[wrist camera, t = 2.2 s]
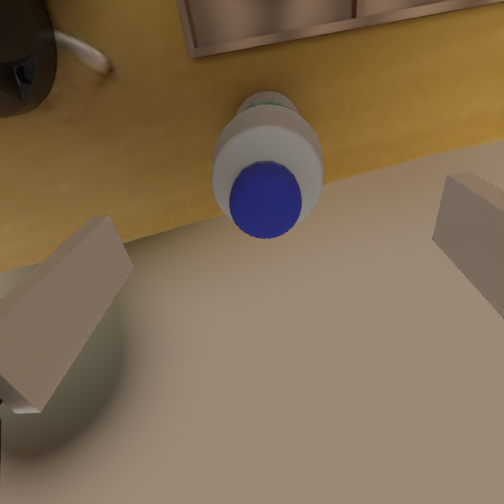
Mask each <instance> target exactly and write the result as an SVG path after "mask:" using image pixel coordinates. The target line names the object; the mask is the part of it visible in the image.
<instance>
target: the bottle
mask: <svg viewBox="0 0 504 504" xmlns="http://www.w3.org/2000/svg"><path fill="white" fill-rule="evenodd" d="M211 180H212V190H213V193H214V197H215V199H216V201H217V203H218V205H219V207H220V208H221V210H222V211H223V212H224V214H225V215H226V216H227V217H228V218H229V219H231V220H232V221H233V222H234V223H235V224H236V225H237V226H239V228H240V229H241V230H242V231H244V232H245V233H246V234H249V235H250V236H254V237H256V238H262V239H265V238H269V239H270V238H274V237H278V236H280V235H283V234H284V233H285V232H288V230H289V229H291V228H292V227H293V226H295V225H296V224H298V223H300V222H301V221H302V220H303V219H305V218H306V217H307V216H308V215H309V214H310V212H311V211H312V210H313V209H314V207H315V206H316V204H317V202H318V200H319V198H320V195H321V192H322V187H323V180H324V178H323V155H322V149H321V145H320V142H319V139H318V137H317V135H316V133H315V132H314V130H313V129H312V127H311V126H310V125H309V124H308V123H307V122H306V121H305V120H304V119H303V118H302V117H301V116H300V115H299V112H298V110H297V108H296V107H295V105H294V104H293V102H292V101H291V100H290V99H289V98H287V97H286V96H285V95H283V94H281V93H279V92H274V91H261V92H257V93H254V94H253V95H251V96H250V97H248V98H247V99H246V100H245V101H244V102H243V103H242V104H241V106H240V107H239V109H238V111H237V112H236V115H235V117H234V118H233V119H232V120H231V121H230V122H229V123H228V124H227V125H226V126H225V128H224V129H223V130H222V132H221V133H220V135H219V137H218V139H217V141H216V144H215V147H214V151H213V158H212V178H211Z"/></svg>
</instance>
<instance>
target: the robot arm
mask: <svg viewBox="0 0 504 504" xmlns="http://www.w3.org/2000/svg"><path fill="white" fill-rule="evenodd" d="M55 68H56V49H55V41H54V35H53V31H52V27H51V23H50V20H49V17H48V14H47V11H46V9H45V6H44V3H43V1H42V0H0V118H5V117H10V116H14V115H18V114H22V113H25V112H28V111H30V110H32V109H33V108H35V107H36V106H38V105H39V104H40V103H41V102H42V101H43V100H44V98H45V97H46V96H47V94H48V92H49V90H50V88H51V86H52V83H53V79H54V75H55ZM432 240H433V241H434V242H435V243H436V244H437V245H438V247H439V248H440V249H441V250H442V251H443V252H444V253H445V254H446V255H447V256H448V258H449V259H450V260H451V261H452V262H453V263H454V264H455V265H456V266H457V267H458V269H459V270H460V271H461V272H462V273H463V274H464V275H465V276H466V277H467V279H468V280H469V281H470V282H471V283H472V284H473V285H474V286H475V287H476V288H477V290H478V291H479V292H480V293H481V294H482V295H483V296H484V297H485V298H486V299H487V300H488V302H489V303H490V304H491V305H492V306H493V307H494V308H495V310H496V311H498V313H499V314H500V315H501V316H502V317H503V318H504V191H503V190H502V189H500V188H498V187H496V186H494V185H493V184H491V183H489V182H487V181H486V180H484V179H482V178H480V177H478V176H477V175H475V174H473V173H471V172H465V173H457V174H448V175H447V177H446V182H445V186H444V190H443V195H442V199H441V203H440V208H439V212H438V216H437V221H436V225H435V229H434V234H433V238H432ZM132 270H133V265H132V263H131V261H130V259H129V257H128V255H127V252H126V250H125V248H124V246H123V244H122V242H121V240H120V237H119V235H118V233H117V231H116V229H115V227H114V225H113V222H112V220H111V218H110V216H109V215H106V216H97V217H92V218H91V219H89V220H88V221H87V222H86V223H85V224H84V225H83V226H82V227H81V228H79V229H78V230H77V231H76V232H75V233H74V234H73V235H72V236H71V237H69V238H68V239H67V240H66V241H65V242H64V243H63V244H62V245H61V246H59V247H58V248H57V249H56V250H55V251H54V252H53V253H52V254H51V255H49V256H48V257H47V258H46V259H45V260H44V261H43V262H42V263H41V264H39V265H38V266H37V267H36V268H35V269H34V270H33V271H32V272H31V273H29V274H28V275H27V276H26V277H25V278H24V279H23V280H22V281H21V282H19V283H18V284H17V285H16V286H15V287H14V288H13V289H12V290H11V291H9V292H8V294H6V295H5V296H4V297H3V298H2V299H0V404H1V403H2V402H3V403H5V404H6V405H7V406H8V407H9V408H10V409H11V410H13V411H14V412H15V413H40V412H41V411H42V409H43V408H44V406H45V405H46V403H47V402H48V400H49V399H50V397H51V395H52V394H53V392H54V391H55V389H56V388H57V386H58V385H59V383H60V381H61V380H62V378H63V377H64V375H65V374H66V372H67V371H68V369H69V368H70V366H71V364H72V363H73V361H74V360H75V358H76V357H77V355H78V354H79V352H80V350H81V349H82V347H83V346H84V344H85V343H86V341H87V340H88V338H89V336H90V335H91V333H92V332H93V330H94V328H95V327H96V326H97V324H98V322H99V321H100V319H101V318H102V316H103V315H104V313H105V312H106V310H107V309H108V307H109V305H110V304H111V302H112V301H113V299H114V298H115V296H116V295H117V293H118V291H119V290H120V288H121V287H122V285H123V284H124V282H125V280H126V279H127V277H128V276H129V274H130V273H131V271H132ZM0 459H1V419H0ZM0 461H1V460H0Z"/></svg>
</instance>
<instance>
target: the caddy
mask: <svg viewBox="0 0 504 504" xmlns="http://www.w3.org/2000/svg"><path fill="white" fill-rule="evenodd" d="M176 1H177V6H178V10H179V15H180V19H181V24H182V28H183V33H184V37H185V41H186V46H187V50H188V55H189V58H200V57H206V56H211V55H217V54H222V53H228V52H233V51H238V50H244V49H249V48H255V47H260V46H266V45H271V44H277V43H282V42H288V41H293V40H299V39H304V38H310V37H315V36H320V35H326V34H331V33H337V32H342V31H348V30H353V29H359V28H364V27H370V26H375V25H381V24H386V23H392V22H397V21H402V20H408V19H413V18H419V17H424V16H430V15H435V14H441V13H446V12H452V11H457V10H463V9H468V8H474V7H479V6H484V5H490V4H495V3H501V2H504V0H176Z"/></svg>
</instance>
